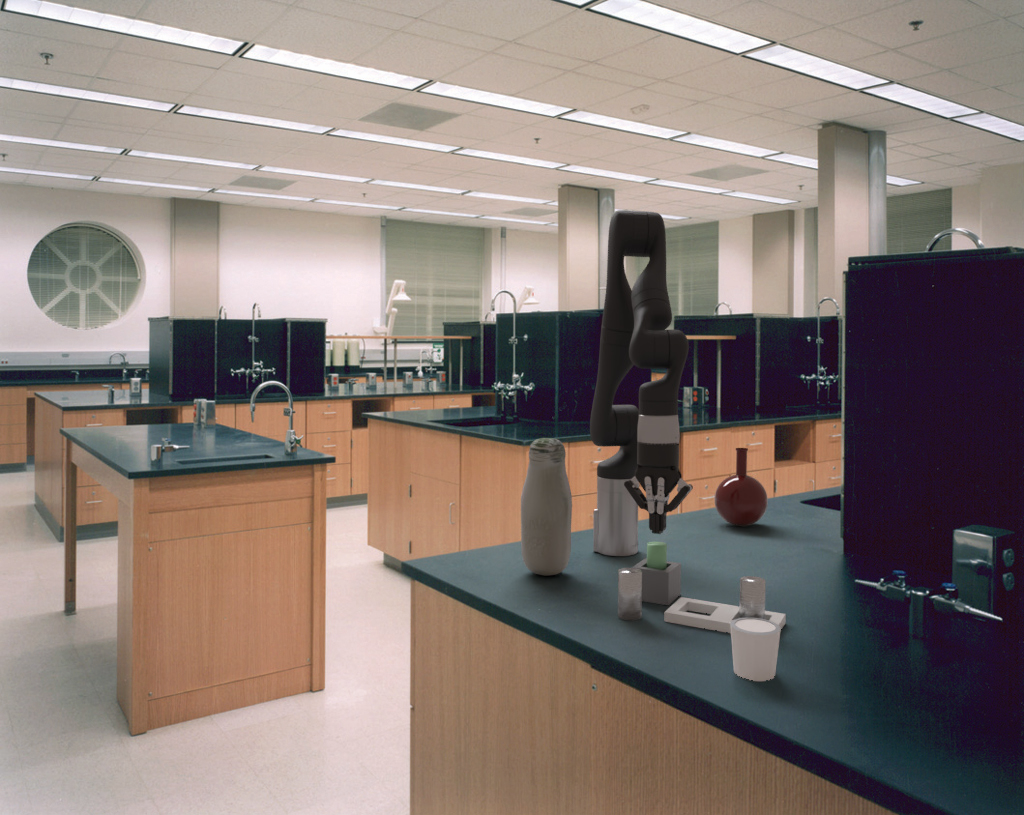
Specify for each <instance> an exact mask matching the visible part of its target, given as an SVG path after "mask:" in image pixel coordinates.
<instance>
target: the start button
mask: <svg viewBox="0 0 1024 815" xmlns="http://www.w3.org/2000/svg"><path fill="white" fill-rule="evenodd" d="M667 546H668V545H667V543H666V542H663V541H648V542H647V543H646V558H647V568H654V569H661V570H665V569H666V568H667V561H668V559H667V558H668V555H667V551H668V547H667Z"/></svg>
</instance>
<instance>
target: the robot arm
mask: <svg viewBox="0 0 1024 815" xmlns="http://www.w3.org/2000/svg"><path fill="white" fill-rule="evenodd" d="M665 225H666V224H665V221H664V218H663V217H662V215H661V214H660V213H658V212H654V211H649V210H648V211H645V210H643V211H642V210H627V209H626V210H625V209H617V210H615V211H614V212H613V213H612V216H611V218H610V221H609V227H608V236H607V237H608V240H607V265H606V267H607V268H606V286H605V295H604V304H603V312H602V318H601V319H602V320H601V330H600V340H599V341H600V343H599V355H598V356H599V357H598V369H597V377H596V384H595V389H594V396H593V399H592V400H593V401H592V406H591V407H592V408H591V412H590V419H589V435H590V438H591V442H592V443H593V444H594V445H595V446H597V447H602V448H603V447H619V449H618V451H617V452H616V453H615V454H614V455H612V456H610V457H608V458H607V459H604V460H601V461H600V462H599V463H598V464H597V466H596V508H595V509H593V515H592V516H593V518H592V519H593V531H592V532H593V533H592V535H593V536H592V538H593V546H592V548H593V552H595V553H599V554H601V555H605V556H611V557H627V556H628V557H629V556H633V555H636V554H637V553H638V551H639V509H641V510H645V511H647V512H648V528H649V531H651V533H652V534H656V535H661V534H663V533H664V531H665V530H666V528H667V513H671V512H673V511H674V510H676V509H678V507H679V506H680V505H681V504H682V502H683V501H684V500H685V498H686V497H687V496H688V495H689V494H690V493H691V492H692V490H693V485H692V484H691V483H687V482H686V481H685V480H684V479H683V478H682V473H681V470H680V438H681V434H680V422H679V415H678V414H679V391H680V389H679V388H680V384H681V379H682V375H683V373H684V372H683V371H684V368H685V366H686V365H685V364H686V361H687V359H688V356H689V355H688V354H689V351H690V350H689V348H690V346H689V344H690V343H689V339H688V338H687V336H686V335H685V333H684V332H683V331H682V330H679V329H668V328H669V327H670V326H671V323H672V322H673V314H672V313H673V312H672V308H671V302H670V298H669V292H668V284H667V283H668V282H667V240H666V237H667V236H666V226H665ZM625 257H635V258H637V257H638V258H649V260H648V262H647V264H646V266H645V268H644V269H643V271H641V273H640V274H639V276H638V277H637V279H636V280H634V281H635V282H634V283H633V286H632V288H631V284H630V283H629V281H628V279H627V275H626V269H625ZM633 366H634V367H637V368H638V369H647V370H648V369H649V370H651V369H654V370H655V369H666V372H665V374H664V375H663V376H662V377H661V378H660V379H657V380H653V381H648V382H644V383H642V384H641V385H640V386H639V390H638V407H637V406H636V405H634V404H613V403H614V400H615V395H616V392H617V390H618V388H619V386H620V384H621V382H622V381H623V380H624V378H625V376H627V374H628V373H629V372H630V370H631V369H632V368H633ZM640 486H641V488H642V489H643V490H644V492H645V494H644V493H643V492H642V490H641V488H640ZM675 488H676V491H677V494H676V495H675V496H674V497H673V498H672V500H671V501H670V502H669V500H670V494H671V493H672V492H673V491H674V490H675Z"/></svg>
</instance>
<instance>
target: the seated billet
mask: <svg viewBox="0 0 1024 815" xmlns="http://www.w3.org/2000/svg"><path fill="white" fill-rule="evenodd" d="M739 607H740V613H739V618H759V619H765V611H766V579H765V578H762V577H759V576H753V575H745V576H741V577H740V578H739Z"/></svg>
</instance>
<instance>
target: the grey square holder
mask: <svg viewBox="0 0 1024 815" xmlns="http://www.w3.org/2000/svg"><path fill="white" fill-rule="evenodd" d="M631 568H637V569H640V570H641V571H642V602H645V603H650V604H657V605H663V606H670V605H672V604H671V603H673V602H674V601H675V600H676V599H677V598H678V596H679V597H680V596H681V595H682V594H681V593H682V592H681V591H682V587H681V585H682V583H681V582H682V580H681V579H682V563H681V562H677V561H676V562H675V561H668V560H667V568H666V569H665V570H661V569H654V568H647V557H646V558H643V559H642V560H641V561H639V562H637V563H635V565H634V566H632V567H631Z"/></svg>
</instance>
